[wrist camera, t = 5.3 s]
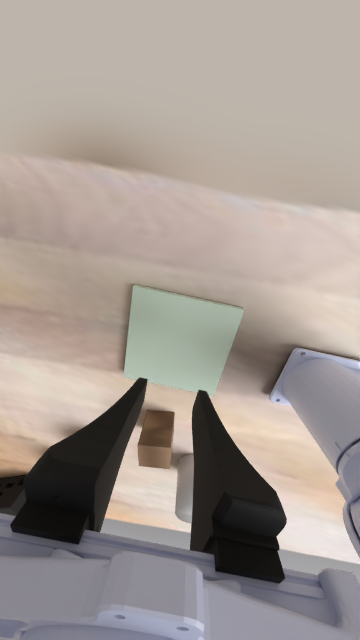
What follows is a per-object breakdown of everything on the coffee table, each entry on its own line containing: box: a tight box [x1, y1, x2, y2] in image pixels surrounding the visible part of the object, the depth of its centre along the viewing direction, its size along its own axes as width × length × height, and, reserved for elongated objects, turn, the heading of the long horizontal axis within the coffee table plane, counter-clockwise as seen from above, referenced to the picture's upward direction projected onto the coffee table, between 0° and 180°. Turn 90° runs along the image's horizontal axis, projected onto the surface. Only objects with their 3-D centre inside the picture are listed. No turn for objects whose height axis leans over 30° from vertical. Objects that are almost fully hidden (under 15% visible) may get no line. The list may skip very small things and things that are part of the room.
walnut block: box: [138, 410, 174, 469], centre depth 23 cm, size 4×4×5 cm
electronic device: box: [0, 475, 27, 516], centre depth 32 cm, size 7×11×5 cm
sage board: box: [123, 285, 245, 396], centre depth 20 cm, size 12×12×1 cm
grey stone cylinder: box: [175, 454, 194, 523], centre depth 26 cm, size 5×5×6 cm
